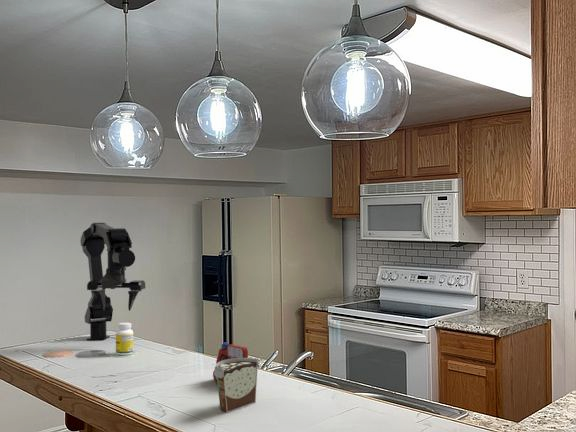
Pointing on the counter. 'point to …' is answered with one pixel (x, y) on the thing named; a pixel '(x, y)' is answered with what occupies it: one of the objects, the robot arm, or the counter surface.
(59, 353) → the terracotta coaster
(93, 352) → the slate coaster
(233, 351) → the toy fire truck
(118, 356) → the sage coaster
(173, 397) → the counter surface
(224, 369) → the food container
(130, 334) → the supplement bottle
